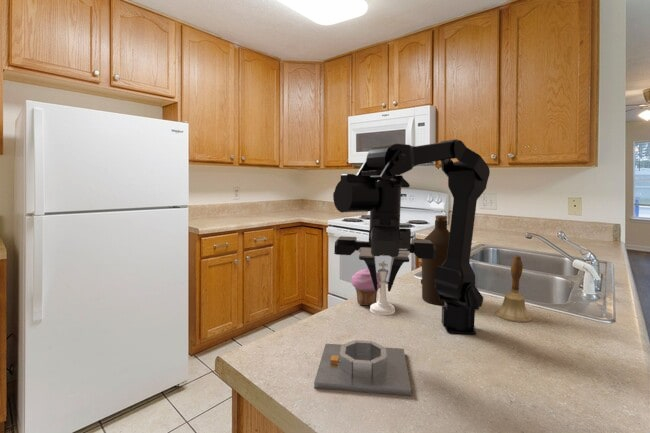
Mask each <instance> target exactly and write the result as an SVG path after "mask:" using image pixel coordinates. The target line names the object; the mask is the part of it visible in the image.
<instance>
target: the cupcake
mask: <svg viewBox="0 0 650 433" xmlns="http://www.w3.org/2000/svg"><path fill="white" fill-rule="evenodd" d="M376 273H377V282H378V281H380V276H379V273H378V271H376ZM350 283H351V286H353V287H354V289H355V292H356V299H357V300H356V301H357V304H358V305H359V306H360V305H361V306H371V305H372V304H374V303H377V298H378V297H377V295H378V292H379V290H380V285H381V284H378V283H377V291H375V288H374V285H373V281H372V278H371V274H370V271H369V269H368V268H366V269H365V268H362V269H360V270H357V272H355V273H354V274H353V275H352V277H351V282H350Z"/></svg>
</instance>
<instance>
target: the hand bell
mask: <svg viewBox="0 0 650 433" xmlns="http://www.w3.org/2000/svg"><path fill="white" fill-rule="evenodd" d="M510 273H511V278H512V282H511V289H510V290H511V291H510V292H507V293H506V294H504V299H503V302H502V304H501V306H500V307H499V308H497V309H496V310H495V315H497V316H498V317H499V318H501V319H504V320H506V321H509V322H517V323H528V322H531V321H532V320H533V318H532V316H531V314H530V313H529V312H528V310H527V306H526V303H525V302H526V301H525V297H524V295H521V294H520V293H519V292H520V279H521V277H522V274H523V262H522V259H521V255H515V256H514V258H513V260H512V262H511V266H510Z"/></svg>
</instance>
